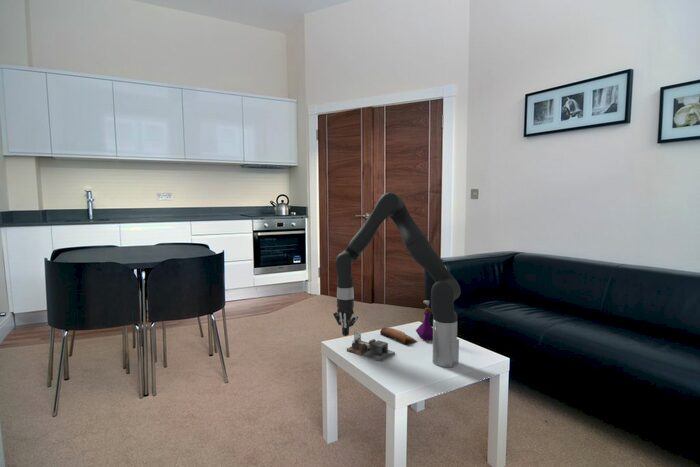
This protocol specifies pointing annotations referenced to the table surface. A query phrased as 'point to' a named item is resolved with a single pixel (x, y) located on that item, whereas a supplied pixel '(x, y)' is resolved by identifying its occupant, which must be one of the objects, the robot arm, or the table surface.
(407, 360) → the table surface
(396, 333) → the sunglasses case
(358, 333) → the steel bolt
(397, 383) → the table surface
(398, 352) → the table surface
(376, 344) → the plate
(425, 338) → the perfume bottle
